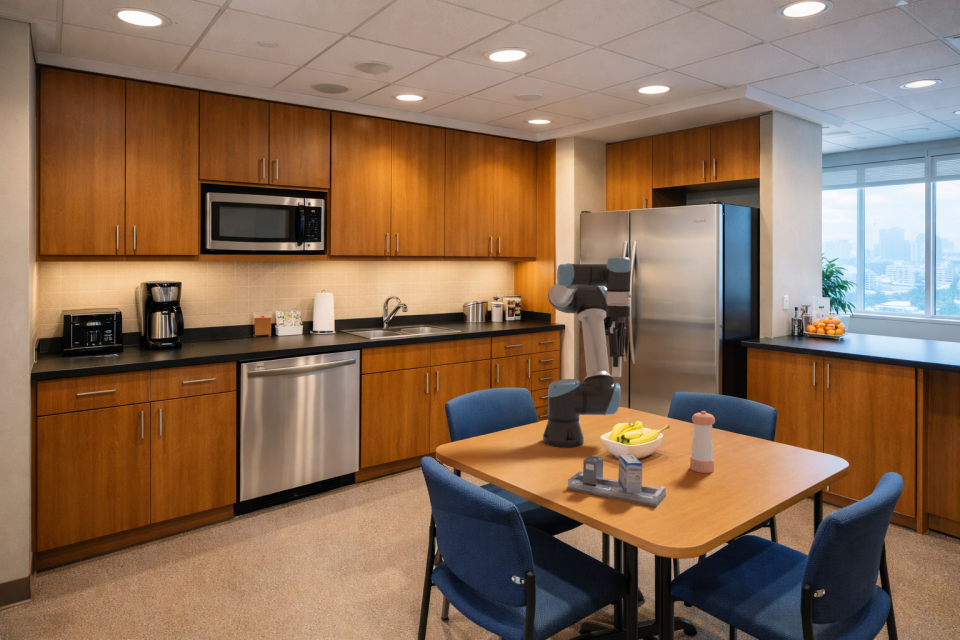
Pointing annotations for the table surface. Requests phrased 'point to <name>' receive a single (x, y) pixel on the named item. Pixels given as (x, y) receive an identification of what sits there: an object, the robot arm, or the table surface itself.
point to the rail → (611, 485)
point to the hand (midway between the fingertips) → (616, 376)
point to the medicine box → (630, 474)
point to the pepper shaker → (702, 443)
